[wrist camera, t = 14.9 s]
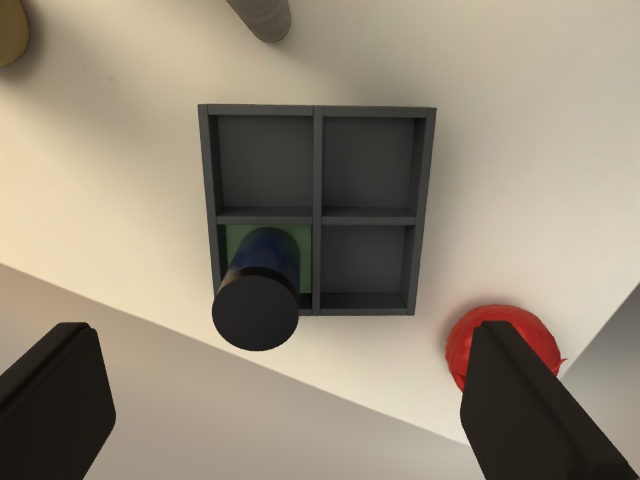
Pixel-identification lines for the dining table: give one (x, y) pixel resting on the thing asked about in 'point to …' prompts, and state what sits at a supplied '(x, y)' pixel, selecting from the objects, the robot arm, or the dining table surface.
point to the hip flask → (264, 17)
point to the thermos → (260, 291)
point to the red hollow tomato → (522, 323)
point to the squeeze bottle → (12, 31)
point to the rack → (324, 196)
